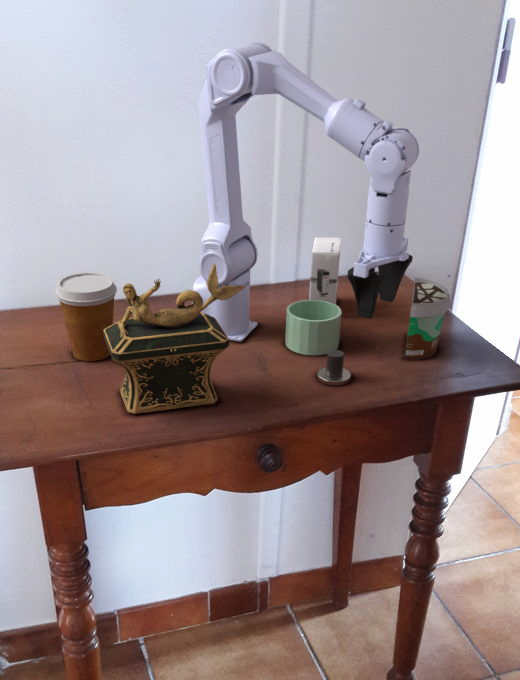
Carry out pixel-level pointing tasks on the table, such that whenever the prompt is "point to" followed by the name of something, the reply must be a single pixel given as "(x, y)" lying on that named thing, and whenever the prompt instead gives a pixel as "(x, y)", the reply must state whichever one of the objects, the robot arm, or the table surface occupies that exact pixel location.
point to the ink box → (325, 269)
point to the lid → (334, 369)
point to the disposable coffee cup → (87, 312)
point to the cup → (312, 327)
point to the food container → (426, 318)
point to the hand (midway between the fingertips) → (376, 308)
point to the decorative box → (168, 349)
